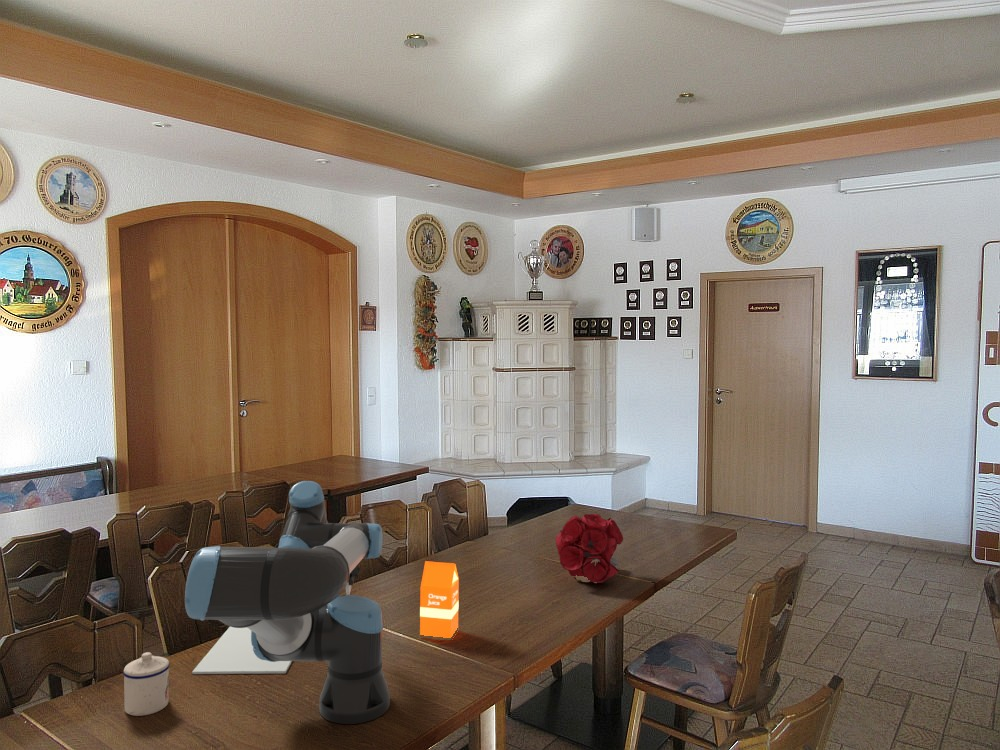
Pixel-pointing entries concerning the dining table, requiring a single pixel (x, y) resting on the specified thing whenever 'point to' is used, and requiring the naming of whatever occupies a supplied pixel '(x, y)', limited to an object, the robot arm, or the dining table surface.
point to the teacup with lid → (146, 685)
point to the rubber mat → (237, 657)
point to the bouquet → (589, 547)
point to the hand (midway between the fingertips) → (322, 590)
